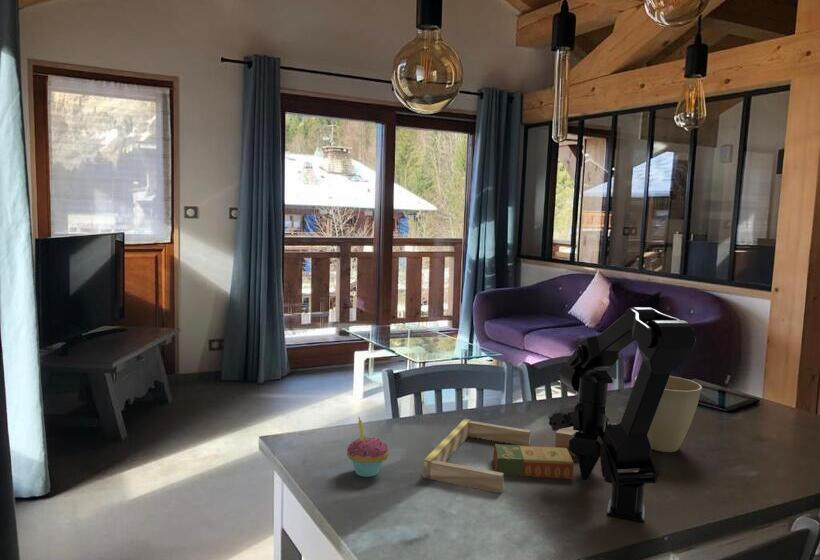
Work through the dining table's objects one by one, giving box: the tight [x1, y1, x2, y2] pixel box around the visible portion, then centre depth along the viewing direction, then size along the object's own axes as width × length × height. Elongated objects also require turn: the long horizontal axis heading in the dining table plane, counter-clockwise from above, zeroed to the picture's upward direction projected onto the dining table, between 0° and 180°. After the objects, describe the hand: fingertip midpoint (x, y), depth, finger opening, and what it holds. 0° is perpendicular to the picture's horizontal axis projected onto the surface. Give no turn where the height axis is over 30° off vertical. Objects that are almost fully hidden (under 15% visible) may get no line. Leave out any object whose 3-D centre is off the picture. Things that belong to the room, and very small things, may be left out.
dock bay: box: [422, 418, 532, 494], centre depth 145 cm, size 29×16×4 cm, turn 159°
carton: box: [492, 443, 575, 480], centre depth 141 cm, size 8×16×4 cm, turn 87°
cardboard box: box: [554, 426, 579, 458], centre depth 153 cm, size 6×6×5 cm
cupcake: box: [346, 416, 389, 478], centre depth 136 cm, size 9×8×12 cm
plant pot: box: [634, 375, 703, 453], centre depth 157 cm, size 15×15×16 cm
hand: (587, 471), depth 138 cm, fingers open, 9 cm apart
